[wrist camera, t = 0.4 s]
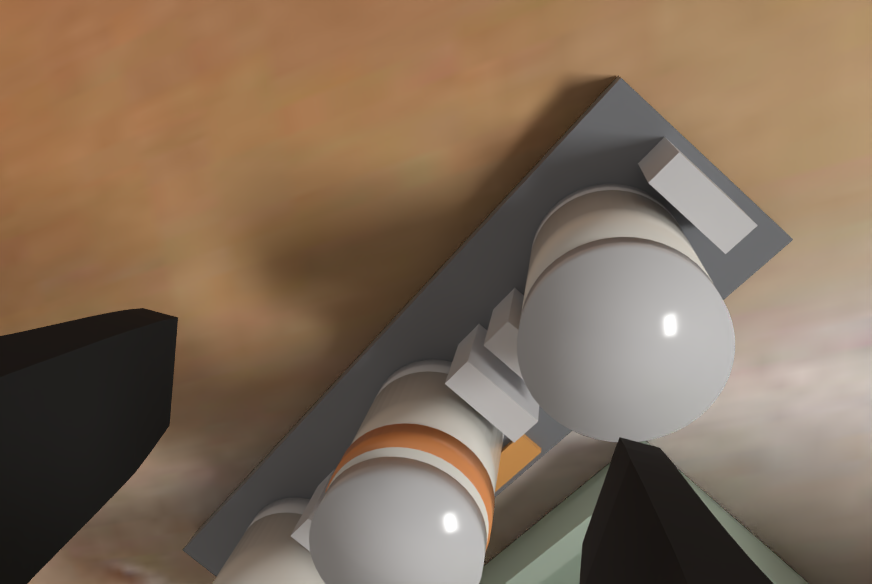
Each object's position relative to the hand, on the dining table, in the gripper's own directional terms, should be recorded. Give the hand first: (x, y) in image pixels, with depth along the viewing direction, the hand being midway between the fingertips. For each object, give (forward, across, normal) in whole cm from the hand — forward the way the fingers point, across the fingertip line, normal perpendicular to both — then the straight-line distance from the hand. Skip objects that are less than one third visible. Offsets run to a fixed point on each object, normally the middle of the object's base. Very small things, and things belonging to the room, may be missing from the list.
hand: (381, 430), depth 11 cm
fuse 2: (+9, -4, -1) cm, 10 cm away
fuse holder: (+10, 0, +5) cm, 11 cm away
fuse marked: (+9, 0, +5) cm, 11 cm away
